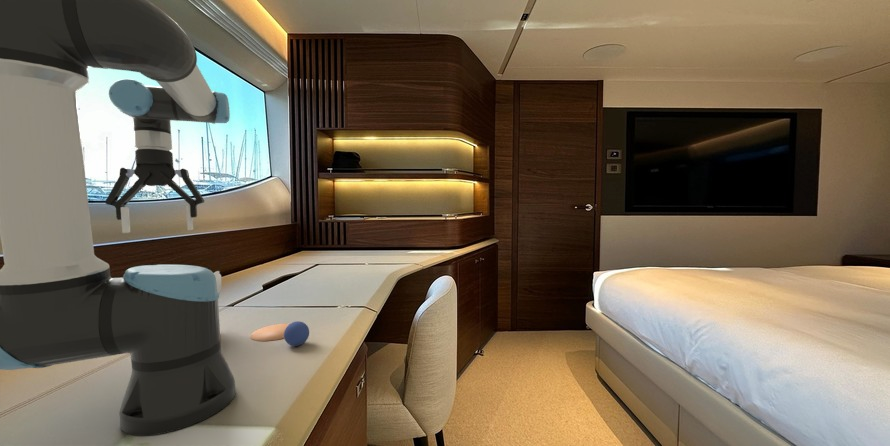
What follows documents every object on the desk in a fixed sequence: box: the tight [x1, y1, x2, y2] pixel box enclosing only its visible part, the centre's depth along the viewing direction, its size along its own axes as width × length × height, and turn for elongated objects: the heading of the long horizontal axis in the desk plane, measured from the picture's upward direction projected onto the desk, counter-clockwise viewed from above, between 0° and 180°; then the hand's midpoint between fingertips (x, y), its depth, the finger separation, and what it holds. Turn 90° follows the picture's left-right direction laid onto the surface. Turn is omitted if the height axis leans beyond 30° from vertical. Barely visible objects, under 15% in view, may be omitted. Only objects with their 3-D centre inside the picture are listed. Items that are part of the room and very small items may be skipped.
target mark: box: [250, 322, 292, 342], centre depth 92 cm, size 12×12×1 cm
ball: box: [283, 320, 310, 347], centre depth 83 cm, size 6×6×6 cm
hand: (159, 231), depth 93 cm, fingers open, 13 cm apart
